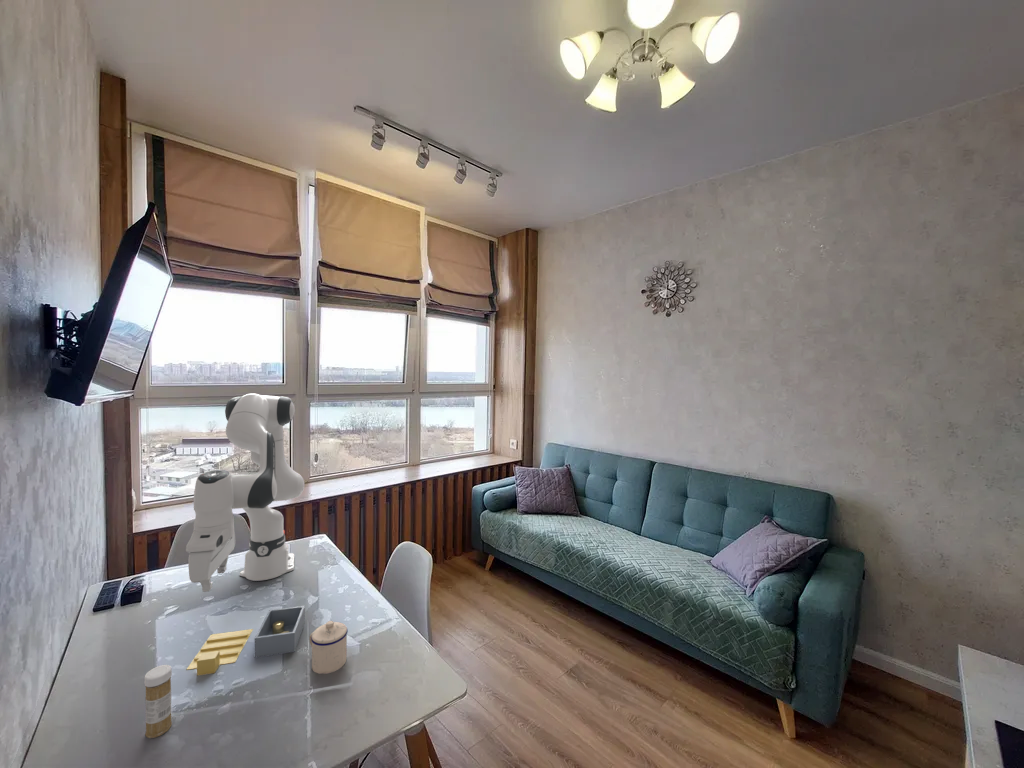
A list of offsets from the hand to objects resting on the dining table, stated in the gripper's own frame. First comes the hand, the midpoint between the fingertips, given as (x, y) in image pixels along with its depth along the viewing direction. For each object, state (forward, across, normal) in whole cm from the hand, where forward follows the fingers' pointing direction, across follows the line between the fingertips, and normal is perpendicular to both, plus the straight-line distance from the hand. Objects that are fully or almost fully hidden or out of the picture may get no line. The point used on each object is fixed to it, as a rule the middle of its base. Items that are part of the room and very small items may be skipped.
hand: (214, 580), depth 113 cm
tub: (+22, -4, +15) cm, 27 cm away
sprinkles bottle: (+22, +23, -3) cm, 32 cm away
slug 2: (+21, -1, +17) cm, 27 cm away
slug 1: (+22, -7, +14) cm, 27 cm away
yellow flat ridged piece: (+22, -2, 0) cm, 22 cm away
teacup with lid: (+22, +9, +29) cm, 38 cm away
